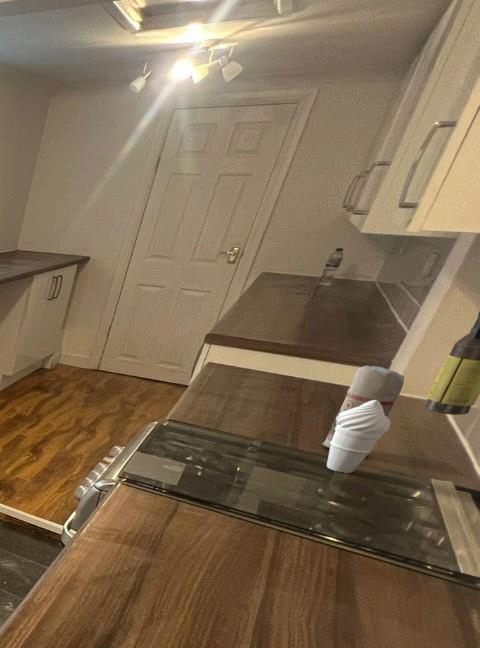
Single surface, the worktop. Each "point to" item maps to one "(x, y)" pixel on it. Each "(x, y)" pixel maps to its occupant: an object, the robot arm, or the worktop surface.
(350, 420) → the ice cream cone
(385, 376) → the spray can
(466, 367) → the sauce bottle
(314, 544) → the worktop surface
